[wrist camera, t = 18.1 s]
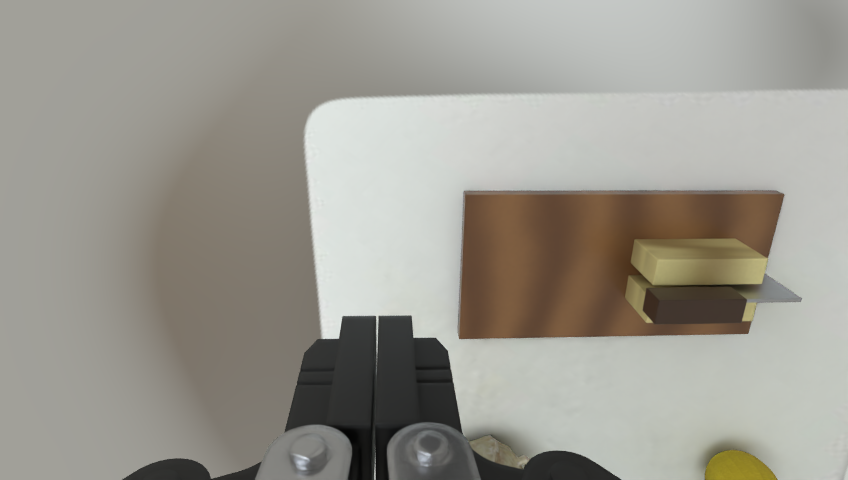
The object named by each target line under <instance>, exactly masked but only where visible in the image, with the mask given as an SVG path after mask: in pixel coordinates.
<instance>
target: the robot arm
mask: <svg viewBox="0 0 848 480" xmlns="http://www.w3.org/2000/svg"><path fill="white" fill-rule="evenodd" d="M375 457H376V480H621V479H620V478H618V477H617V476H615V475H613V474H612V473H610V472H609V471H607V470H606V469H604V468H603V467H601V466H600V465H598V464H597V463H595V462H593V461H592V460H590V459H588V458H586V457H584V456H581V455H579V454H576V453H572V452H567V451H548V452H543V453H541V454H538V455H536V456H534V457H533V458H531V459H530V460H529V461H528V462H527V464H526V465H525V467H524V469H520V468H515V467H511V466H507V465H502V464H499V463H495V462H493V461H490V460H488V459H486V458H484V457H483V456H481V455H479V454H478V453H477V452H475V451H474V450H473V449H472V448H471V446H470V443H469V442H468V440H467V439H466V437H465V436H464V435H463V433H462V429H461V424H460V418H459V412H458V407H457V401H456V395H455V390H454V384H453V378H452V373H451V370H450V361H449V356H448V351H447V350H446V349H445V348H444V346H443V345H442V344H441V343H440V342H439V341H438V340H437V339H436V338H413V328H412V316H379V323H378V353H377V352H376V316H343V318H342V324H341V330H340V337H339V339H318V340H317V341H316V342H315V343H314V344H313V345H312V346H311V347H310V348H309V349H308V350H307V351H306V352H305V353H304V357H303V361H302V365H301V371H300V373H299V377H298V381H297V386H296V389H295V393H294V397H293V401H292V405H291V409H290V413H289V417H288V421H287V425H286V429H285V432H284V433H283V434H282V435H280V436H279V437H277V438H276V439H275V440H274V441H273V442H272V443H271V444H270V446H269V447H268V449H267V451H266V453H265V455H264V458H263V460H262V462H260V463H258V464H256V465H254V466H252V467H250V468H248V469H245V470H242V471H239V472H235V473H232V474H228V475H224V476H221V477H217V478H213V479H211V478H210V474H209V472H208V471H207V469H206V468H205V467H204V466H203V465H202V464H200V463H198V462H196V461H193V460H189V459H167V460H163V461H158V462H155V463H152V464H150V465H147V466H145V467H143V468H141V469H139V470H137V471H136V472H134V473H132V474H131V475H129V476H127V477H126V478H124V479H123V480H374V468H375Z"/></svg>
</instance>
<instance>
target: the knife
mask: <svg viewBox="0 0 848 480" xmlns="http://www.w3.org/2000/svg"><path fill="white" fill-rule="evenodd" d="M710 286H712V287H657V288H646V293H645V298H644V304H643V312H644V313H645V314H646V315H647V316H648V317H649V318H650V320H651V321H652V322H653V323H654V324H656V325H658V324H718V323H742V319H743V315H744V311H745V307H746V303H758V302H801V300H802V298H801V297H799V296H798V295H796V294H795V293H793V292H792V291H790V290H789V289H787V288H786V287H784V286H783V285H781V284H780V283H778V282H777V281H775V280H774V279H772V278H771V277H769V276H768V275H766V274H764V278H763V281H762V284H725V285H710Z"/></svg>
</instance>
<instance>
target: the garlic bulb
mask: <svg viewBox="0 0 848 480" xmlns="http://www.w3.org/2000/svg"><path fill="white" fill-rule="evenodd" d="M468 442H469V443H470V446H471V448H472V449H473V450H474V451H475V452H477V453H478V454H479V455H481V456H483V457H484V458H486V459H488V460H490V461H493V462H495V463H499V464H502V465H507V466H511V467H515V468H520V469H523V468H522V466H521V465H523V464H525V465H526V464H527V462H528V461H529V460H530V459H529V458H528V457H527V456H526V455H522V456H520V457H517V456H516V455H515V453H514V452H513V451H512V450H511V449H510V447H509V446H506V445H504V444H502V443H500V442H498V441H497V440H496V439H493V437H492V436H491V435H486V436H484V437H482V438H480V439H476V440H472V441H468Z"/></svg>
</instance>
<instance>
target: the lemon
mask: <svg viewBox="0 0 848 480" xmlns="http://www.w3.org/2000/svg"><path fill="white" fill-rule="evenodd" d="M705 480H777V478H776V476H775V475H774V474H773V472H772V471H771V470H770V469H769V468H768V467H767V466H766V465H765V464H764V463H763V462H761V461H760V460H759V459H758V458H756V457H755V456H753V455H751V454H748V453H746V452H743V451H738V450H726V451H723V452H720V453H718V454H716V455H715V456H714V457H713V458H712V459H711V460H710V461H709V463H708V465H707V467H706V471H705Z"/></svg>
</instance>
